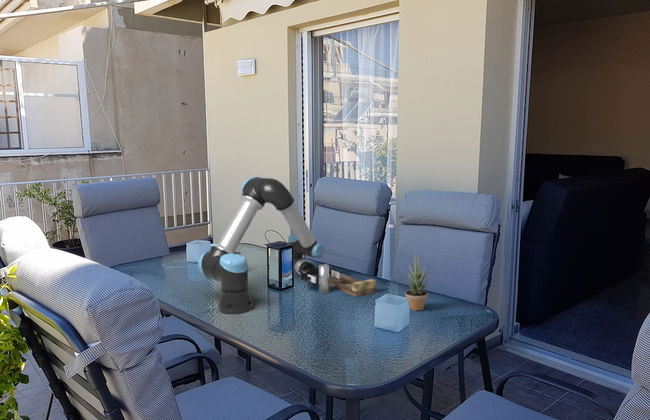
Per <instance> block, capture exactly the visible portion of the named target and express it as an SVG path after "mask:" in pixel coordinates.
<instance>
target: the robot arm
mask: <svg viewBox="0 0 650 420" xmlns="http://www.w3.org/2000/svg"><path fill="white" fill-rule="evenodd" d="M240 190H241V191H240V192H241V196H240V199H241V203H240V204H239V206H238V207H237V210H236V211H235V213H234V215H233V217H232V218H231V219H230V221H229V223H228V224H227V227H226V229H224V232H223V233H222V236H221V237H220V239H219V240H218V242H217V244H213V245H212V246H211V248H210V249H209V251H207V252H203V254H201V255H200V257H199V259H198V262H197V263H198V264H197V265H198V271H199V273H200V275H202V276H203V277H205V278H206V279H208V280H212V281H216V282H218V283H220V290H221V291H220V295H219V299H218V302H217V310H218V312H220V313H222V314H227V313H229V314H231V315H232V314H233V315H234V314H235V315H236V314H243V313H246V312H249V311H251V310H253V308H254V307H253V305H254V303H253V299H252V297H251V294H250V291H249V276H248V275H249V274H248V272H249V269H248V268H249V265H248V259H247V258H246V257H245V256H244V255H242V254H241V255H239V254H234V252H236V250H237V248H238V247H239V245H240V243H241V241H242V239H243V237H244V235H245V234H246V233H247V230H248V229H249V226H250V225H251V223H252V222H253V220H254V217H255V216H256V214H257V212H258V211H261V210H263V208H264V207H265V205H266V204H267V203H268V204H270V205H272V206H274V208H275V210H276V211H279V212H280V213H281V215H282V216H283V218H284V220H285V221H286V222H287V224H288V227H289V228H290V230H291V231H292V233H293V234H290V235H288V239H287V244H288V243H291V244H293V255H294V257H293V261H294V271H293V272H294V273H296V274H298V276H299V279H300V281H304V282H308V281H309V282H311V283H313V284H317V277H316V276H317V275H318V276H319V267H317V266H315V265H314V264H313V263H312V262H310V261H307V260H304V259H303V258H304V257H303V256H306V257H310V258H313V259H314V258H317V259H321V258H322V257H323V256H324V254H325V246H324V244H322V243H321V242H318V241H317V240H316V238H315V236H314V235H313V233H312V232H311V229H310V228H309V226H308V224H307V223H306V221H305V219H304V218H303V216H302V214H301V213H300V211H299V209H298V207H297V206H296V204H295V199H294V197H293V195H292V194H291V192H290V191H289V189H288V188H287V187H286V186H285V184H283V183H282V182H281V181H279V179H275V178H271V177H269V178H268V177H260V176H254V177H248V178H247V179H245V181H244V182H243V183H242V186H241V189H240ZM329 275H331V276H333V277H336V278H338V279H340V272H338V271H337V268H334V267H333V268H332V267H329Z"/></svg>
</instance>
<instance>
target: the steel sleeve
mask: <svg viewBox="0 0 650 420" xmlns="http://www.w3.org/2000/svg"><path fill="white" fill-rule="evenodd" d="M318 268H319V271H318V273H319V275H318V292H319V293H320V294H328V293H330V285H329V268H330V265H329V264H327V263H326V264H325V263H322V264H318Z"/></svg>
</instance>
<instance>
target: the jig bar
mask: <svg viewBox="0 0 650 420" xmlns="http://www.w3.org/2000/svg"><path fill="white" fill-rule="evenodd" d="M339 273H340V272H339ZM329 286H331V287H333V288H335V289H338V290H340V291H343V292H344V293H346V294H349V295H351V296H353V297H355V298H357V297H361V296H366V295H370V294H374V293H377V280H376V279H374V278H370V279H365V280H358V279H357V278H354V277H351V276H349V275H347V274H345V273H342V272H341V273H340V279H338V278H336V277H333V276H331V275H329Z"/></svg>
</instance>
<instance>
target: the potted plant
mask: <svg viewBox="0 0 650 420" xmlns="http://www.w3.org/2000/svg"><path fill="white" fill-rule="evenodd" d="M419 256H420V255H417V258H416V254H414V257H413V258H414V260H413V261H414V270H413V269H412V267H411V265H410V263H408V267H409V269H410V271H408V274H407V277H408V279H409V281H410V282H409V281H408V283H407V284H408V285H409V286H408V287H409V290H407V291H405V293H404V295H405V296H404V297H405V298H406V299H407V298H408V299H409V304H410V309H412V310H422V309H423V310H424V309H425V304H426V302H427V298H428V297H429V296H428V293H429V292H427V291H425V288H426V286H427V283H428V282H429V279H430V277H428V278H427V279H426V276H427V273H425V271H426V265H425V266H424V267H423V269H422V271H420V270H421V268H420V267H421V265H420V257H419ZM416 259H417V260H416ZM424 279H426V281H425V280H424ZM409 304H408V305H409ZM410 309H409V310H410ZM412 310H411V311H412ZM423 310H422V311H423Z"/></svg>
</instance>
